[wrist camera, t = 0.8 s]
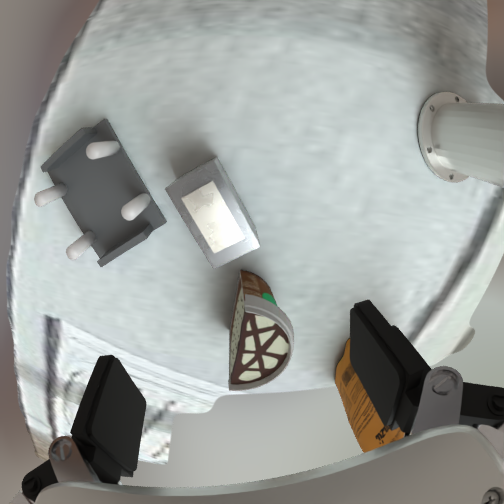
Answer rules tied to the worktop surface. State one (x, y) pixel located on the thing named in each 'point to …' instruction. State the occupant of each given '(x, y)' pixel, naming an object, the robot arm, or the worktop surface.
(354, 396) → the coffee package
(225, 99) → the worktop surface
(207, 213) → the block
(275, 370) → the food container
